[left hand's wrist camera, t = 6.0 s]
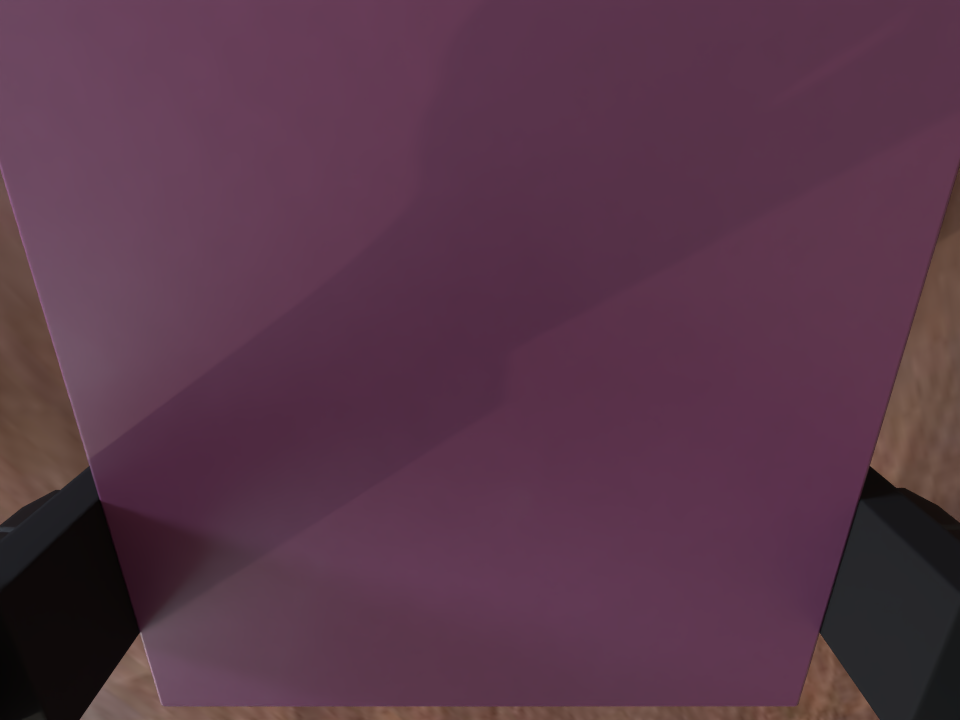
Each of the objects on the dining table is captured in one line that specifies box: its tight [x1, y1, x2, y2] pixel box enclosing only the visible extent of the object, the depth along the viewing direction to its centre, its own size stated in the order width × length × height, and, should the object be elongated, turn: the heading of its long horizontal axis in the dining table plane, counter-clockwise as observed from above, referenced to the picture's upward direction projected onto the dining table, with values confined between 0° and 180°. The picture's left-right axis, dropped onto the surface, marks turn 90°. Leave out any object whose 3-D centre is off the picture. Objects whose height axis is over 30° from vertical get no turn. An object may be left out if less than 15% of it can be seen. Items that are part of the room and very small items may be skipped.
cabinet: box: [0, 0, 960, 706], centre depth 12 cm, size 19×12×11 cm, turn 0°
